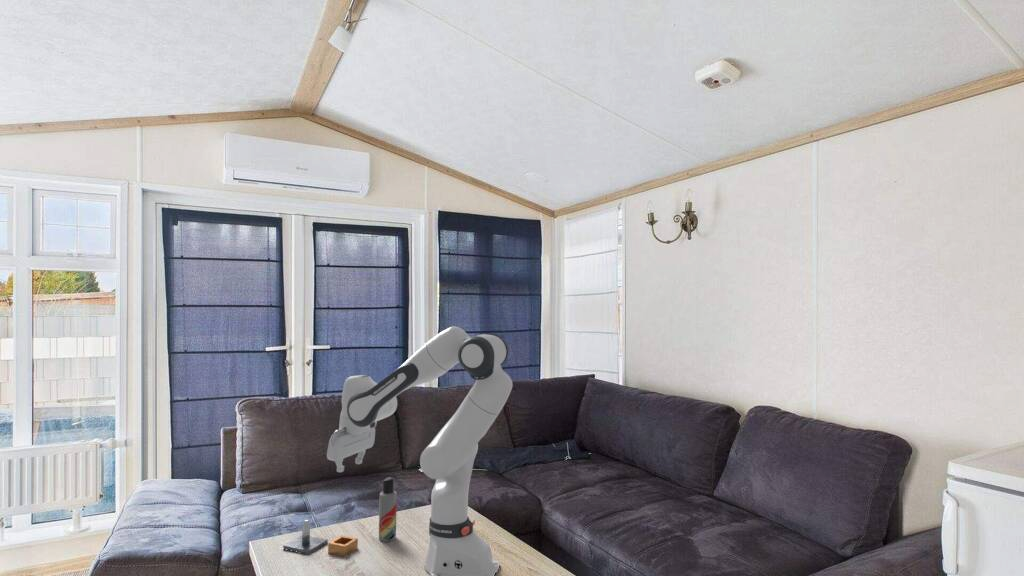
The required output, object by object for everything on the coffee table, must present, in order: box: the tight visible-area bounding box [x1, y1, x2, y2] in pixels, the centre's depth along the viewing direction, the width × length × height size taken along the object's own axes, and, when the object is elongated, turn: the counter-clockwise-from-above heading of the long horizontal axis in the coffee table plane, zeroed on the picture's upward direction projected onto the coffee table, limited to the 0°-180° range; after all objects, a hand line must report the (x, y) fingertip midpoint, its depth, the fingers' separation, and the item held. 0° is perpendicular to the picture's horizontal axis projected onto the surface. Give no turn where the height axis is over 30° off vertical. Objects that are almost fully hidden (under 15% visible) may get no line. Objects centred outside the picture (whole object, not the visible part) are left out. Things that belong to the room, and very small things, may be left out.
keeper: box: [282, 519, 329, 555], centre depth 176 cm, size 10×9×8 cm
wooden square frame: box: [327, 535, 359, 557], centre depth 174 cm, size 6×6×3 cm
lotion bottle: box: [378, 477, 398, 542], centre depth 183 cm, size 6×6×20 cm
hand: (349, 467), depth 175 cm, fingers open, 8 cm apart
